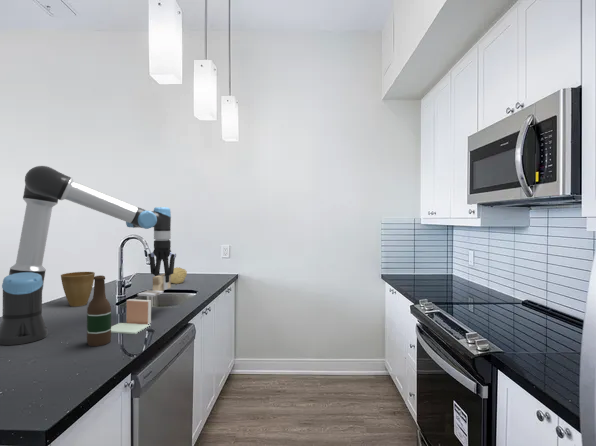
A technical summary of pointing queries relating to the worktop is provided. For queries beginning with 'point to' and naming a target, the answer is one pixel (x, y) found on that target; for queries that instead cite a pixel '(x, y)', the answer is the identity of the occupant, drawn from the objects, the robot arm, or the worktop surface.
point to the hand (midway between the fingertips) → (162, 289)
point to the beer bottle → (99, 315)
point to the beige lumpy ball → (178, 275)
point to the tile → (138, 311)
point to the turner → (156, 286)
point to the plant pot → (77, 287)
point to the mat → (128, 328)
